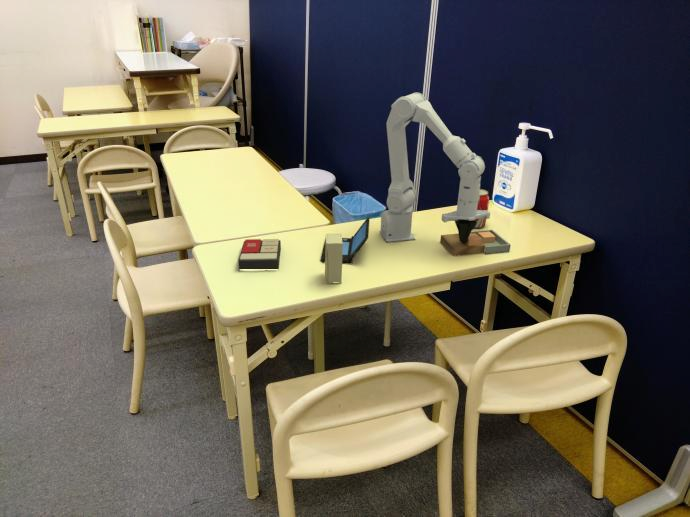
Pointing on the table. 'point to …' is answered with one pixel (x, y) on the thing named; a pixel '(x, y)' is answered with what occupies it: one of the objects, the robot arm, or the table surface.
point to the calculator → (260, 254)
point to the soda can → (482, 207)
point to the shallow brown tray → (459, 245)
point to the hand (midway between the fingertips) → (462, 241)
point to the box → (495, 244)
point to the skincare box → (333, 257)
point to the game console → (352, 243)
